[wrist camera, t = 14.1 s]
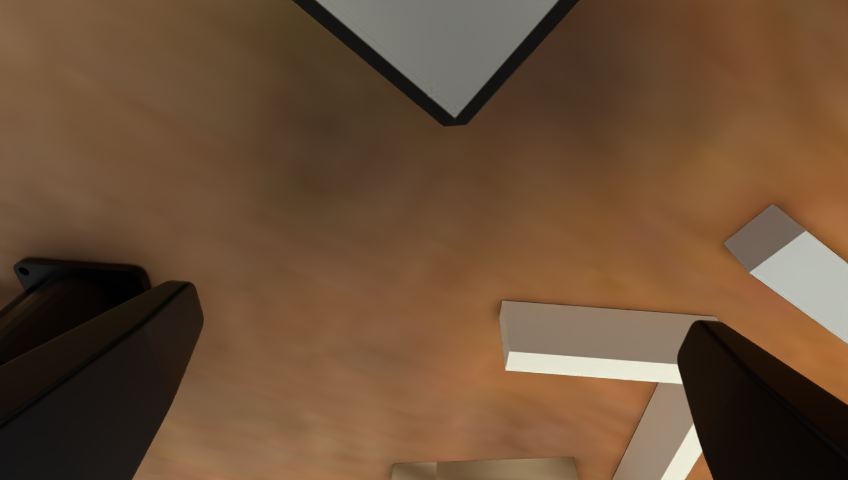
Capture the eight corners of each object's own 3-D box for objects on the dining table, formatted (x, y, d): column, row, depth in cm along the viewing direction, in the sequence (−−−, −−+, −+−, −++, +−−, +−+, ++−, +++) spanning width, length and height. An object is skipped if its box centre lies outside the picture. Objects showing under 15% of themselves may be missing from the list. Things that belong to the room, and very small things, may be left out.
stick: (826, 317, 23) (863, 355, 21) (719, 240, 21) (749, 272, 19) (876, 286, 22) (920, 322, 20) (769, 200, 20) (805, 230, 18)
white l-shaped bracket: (471, 467, 31) (473, 521, 28) (502, 300, 23) (509, 351, 21) (630, 480, 31) (648, 536, 28) (715, 316, 23) (753, 370, 20)
